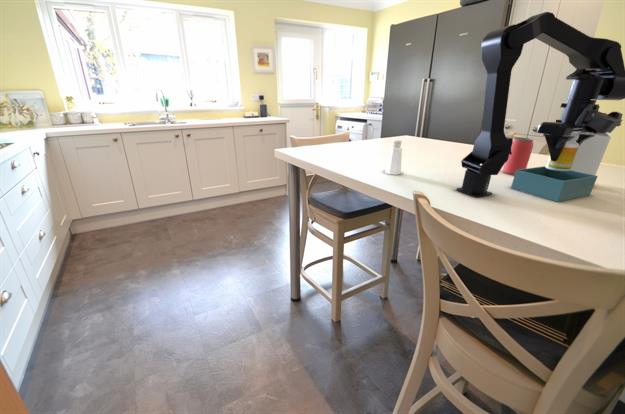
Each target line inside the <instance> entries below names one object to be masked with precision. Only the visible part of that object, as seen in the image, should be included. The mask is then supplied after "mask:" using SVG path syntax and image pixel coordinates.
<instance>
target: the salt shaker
mask: <svg viewBox="0 0 625 414" xmlns="http://www.w3.org/2000/svg"><path fill="white" fill-rule="evenodd" d="M401 146H402V140H401V139H393V140H392V146H391V147H390V149H389V155H388V159H387V163H386V167H385V171H384V172H385V174H388V175H393V176H397V175H401V173H402V159H403V158H402V156H403V155H402V153H403V148H402V147H401Z"/></svg>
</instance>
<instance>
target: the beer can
mask: <svg viewBox="0 0 625 414" xmlns="http://www.w3.org/2000/svg"><path fill="white" fill-rule="evenodd" d="M512 139H513V143H512V147H511V152H512V154H511V155H510V154H509V158H508V161H507V162H505V164H504V165H503V167H502V172H503V173H504V174H507V175H511V176H515V172H516V170H520V169H527V168H528V164H529V161H530V159H531V154H532V151H533V148H534V139H533V138H529V137H521V136H520V137H517V136H515V137H512Z"/></svg>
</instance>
